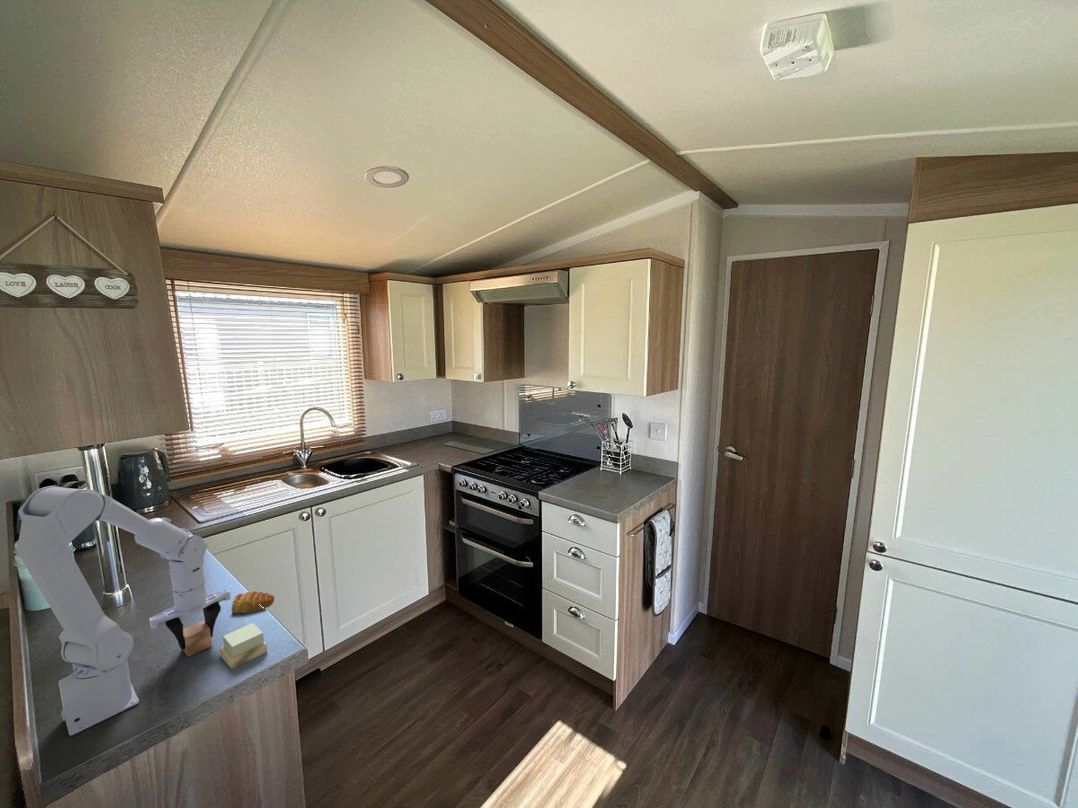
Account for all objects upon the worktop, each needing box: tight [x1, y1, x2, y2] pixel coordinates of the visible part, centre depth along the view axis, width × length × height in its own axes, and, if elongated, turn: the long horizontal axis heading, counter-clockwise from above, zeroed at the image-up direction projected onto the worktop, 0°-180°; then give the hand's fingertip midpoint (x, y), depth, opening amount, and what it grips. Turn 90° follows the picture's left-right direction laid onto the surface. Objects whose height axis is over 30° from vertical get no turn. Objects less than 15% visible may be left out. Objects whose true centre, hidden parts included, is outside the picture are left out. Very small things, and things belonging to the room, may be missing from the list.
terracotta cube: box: [182, 620, 213, 657], centre depth 103 cm, size 4×4×4 cm
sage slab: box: [222, 622, 265, 657], centre depth 101 cm, size 6×6×2 cm
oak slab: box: [219, 641, 268, 670], centre depth 101 cm, size 7×7×2 cm
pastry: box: [231, 590, 275, 615], centre depth 119 cm, size 9×7×4 cm
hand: (196, 641), depth 103 cm, fingers closed on terracotta cube, 4 cm apart
